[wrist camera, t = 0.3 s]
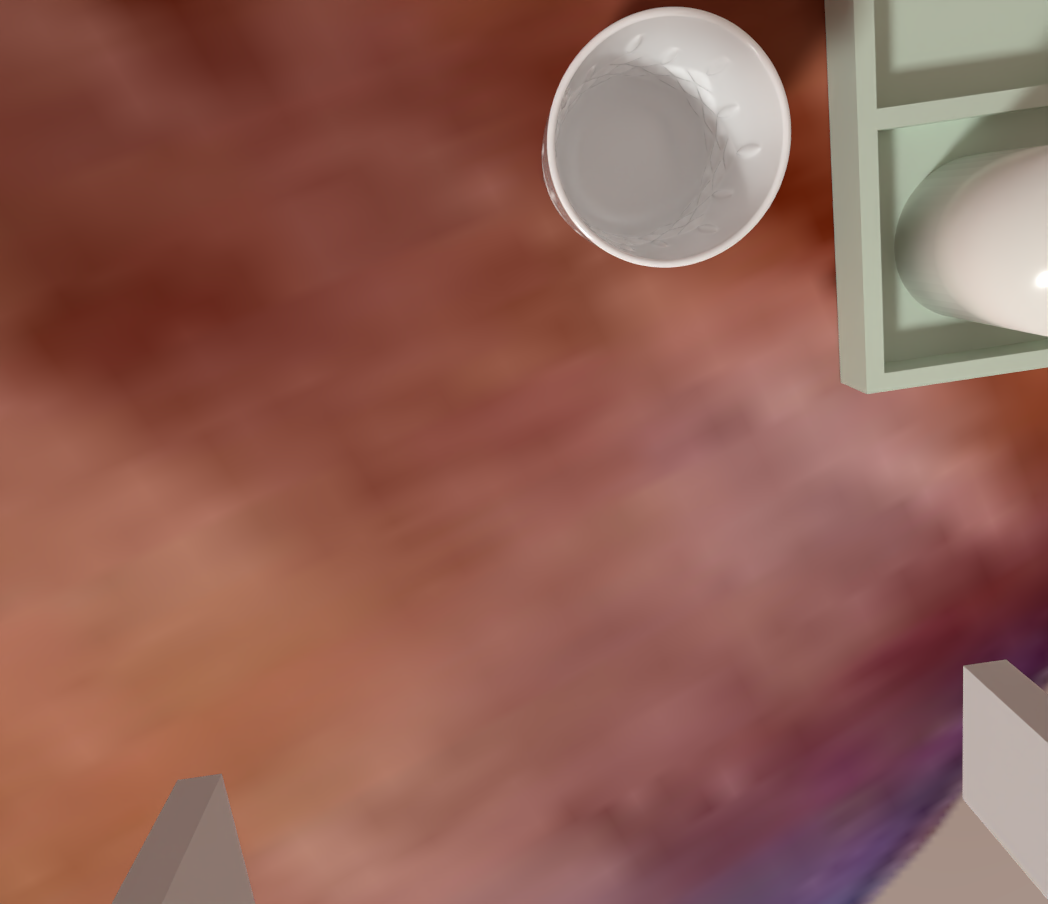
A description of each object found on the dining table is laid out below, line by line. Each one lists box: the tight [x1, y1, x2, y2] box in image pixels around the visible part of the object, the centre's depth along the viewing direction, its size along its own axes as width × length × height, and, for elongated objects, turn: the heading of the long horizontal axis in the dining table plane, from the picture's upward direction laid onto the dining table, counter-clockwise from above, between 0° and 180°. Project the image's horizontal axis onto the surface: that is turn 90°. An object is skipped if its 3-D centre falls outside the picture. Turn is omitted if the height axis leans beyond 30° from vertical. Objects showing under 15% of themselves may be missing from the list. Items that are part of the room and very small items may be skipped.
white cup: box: [542, 7, 791, 268], centre depth 32 cm, size 8×8×10 cm
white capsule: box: [894, 145, 1048, 337], centre depth 34 cm, size 7×7×9 cm
